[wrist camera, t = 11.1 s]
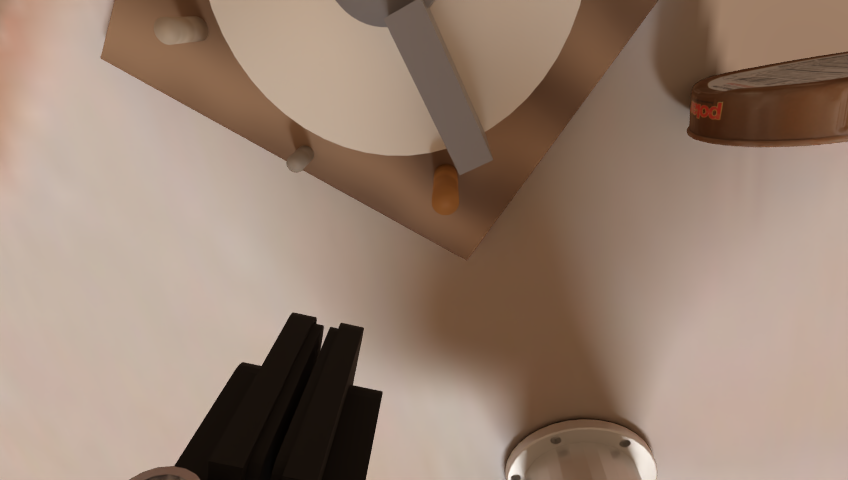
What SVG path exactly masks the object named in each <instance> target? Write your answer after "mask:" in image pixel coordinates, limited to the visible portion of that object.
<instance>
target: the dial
mask: <svg viewBox="0 0 848 480" xmlns="http://www.w3.org/2000/svg"><path fill="white" fill-rule="evenodd" d="M209 1H210V4H211V8H212V11H213V13H214V15H215V18H216V20H217V22H218V25H219V27H220V29H221V32H222V34H223V36H224V38H225V40H226V42H227V43H228V45H229V47H230V49H231V51H232V52H233V54H234V56H235V58H236V59H237V61H238V62H239V64H240V65H241V66H242V68H243V69H244V71H245V72H246V73H247V75H248V76H249V78H250V79H251V80H252V81H253V83H254V84H255V85H256V86H257V87H258V88H259V89H260V91H261V92H262V93H263V94H264V95H265V96H266V97H267V98H268V99H269V100H270V101H271V102H272V103H273V104H274V105H275V106H276V107H278V108H279V109H280V110H281V111H282V112H283V113H284V114H285V115H287V116H288V117H290V118H291V119H292V120H294V121H295V122H297V123H298V124H299V125H301V126H302V127H304V128H305V129H307V130H309V131H311V132H312V133H314V134H316V135H318V136H320V137H322V138H323V139H326V140H328V141H331V142H333V143H336V144H338V145H341V146H343V147H346V148H350V149H354V150H357V151H361V152H365V153H372V154H379V155H387V156H410V155H418V154H426V153H432V152H436V151H439V150H443V149H447V150H448V152H449V155H450V157H451V159H452V161H453V163H454V165H455V167H456V169H457V171H458V173H459V175H462V174H464V173H466V172H468V171H470V170H473V169H475V168H477V167H479V166H481V165H483V164H486V163H488V162H490V161H492V160H493V158H492V154H491V151H490V148H489V144H488V141H487V138H486V134H485V131H487V130H489V129H491V128H492V127H494V126H495V125H496V124H498V123H499V122H500V121H502V120H503V119H504V118H506V117H507V116H509V115H510V114H511V113H512V112H513V111H514V110H515V109H516V108H517V107H518V106H519V105H521V104H522V103H523V102H524V101H525V100H526V99H527V98H528V97H529V96H530V94H531V93H532V92H533V91H534V90H535V88H536V87H537V86H538V85H539V84H540V82H541V81H542V80H543V79H544V77H545V76H546V74H547V73H548V71H549V70H550V68H551V67H552V65H553V64H554V62H555V60H556V59H557V57H558V56H559V54H560V52H561V50H562V48H563V46H564V44H565V42H566V40H567V38H568V36H569V34H570V31H571V29H572V26H573V23H574V20H575V18H576V15H577V12H578V9H579V7H580V3H581V0H209Z"/></svg>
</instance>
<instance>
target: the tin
mask: <svg viewBox="0 0 848 480" xmlns="http://www.w3.org/2000/svg"><path fill="white" fill-rule="evenodd" d="M687 134H688V135H689V136H690V137H692V138H693V139H696V140H699V141H702V142H707V143H712V144H720V145H730V146H743V147H790V146H810V145H821V144H831V143H839V142H847V141H848V52H843V53H836V54H830V55H824V56H816V57H811V58H805V59H799V60H793V61H787V62H781V63H776V64H770V65H765V66H759V67H754V68H748V69H743V70H738V71H733V72H728V73H724V74H720V75H716V76H712V77H709V78H706V79H703V80H701V81H699V82H698V83H696V84H695V85H694V86H693V88H692V93H691V102H690V124H689V127H688V128H687Z"/></svg>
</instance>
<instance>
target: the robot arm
mask: <svg viewBox="0 0 848 480" xmlns="http://www.w3.org/2000/svg"><path fill="white" fill-rule="evenodd" d="M316 321H317V320H316V317H312V316H307V315H303V314H298V313H292V314H291V315H290V317H289V318H288V320H287V322H286V324H285V326H284V327H283V329H282V331H281V333H280V334H279V336H278V338H277V340H276V342H275V343H274V345H273V347H272V349H271V350H270V352H269V354H268V356H267V357H266V359H265V361H264V363H263V365H262V366H258V365H254V364H249V363H244V362H242V363H241V364H239V366H238V367H237V368H236V370H235V371H234V373H233V374H232V376H231V378H230V379H229V381H228V382H227V384H226V385H225V387H224V389H223V390H222V392H221V393H220V395H219V396H218V398H217V400H216V401H215V403H214V404H213V406H212V408H211V409H210V411H209V412H208V414H207V415H206V417H205V419H204V420H203V422H202V423H201V425H200V426H199V428H198V430H197V431H196V433H195V434H194V436H193V437H192V439H191V441H190V442H189V444H188V445H187V447H186V448H185V450H184V452H183V453H182V455H181V456H180V458H179V460H178V461H177V463H176V464H175V466H170V467H158V468H155V469H151V470H148V471H145V472H142V473H140V474H139V475H137V476H135V477H133V478H131V479H130V480H366V475H367V470H368V465H369V460H370V455H371V449H372V444H373V439H374V434H375V429H376V424H377V419H378V414H379V408H380V403H381V398H382V391H377V390H372V389H368V388H363V387H358V386H353V381H354V376H355V371H356V366H357V361H358V356H359V351H360V346H361V341H362V336H363V330H364V328H363V327H358V326H354V325H349V324H344V323H341V324H340V326H339V328H338V329H337V328H333V327H330V329H329V331H328V333H327V336H326V338H325V341H324V343H323V346H322V348H321V343H322V337H323V330H324V326H323V325H319V324H316ZM320 350H321V351H320ZM505 474H506V480H657V466H656V462H655V459H654V457H653V455H652V452H651V450H650V449H649V447H648V446H647V444H646V443H645V441H644V440H643V439H642V438H640V437H639V436H638V435H637V434H636V433H634V432H632V431H631V430H629V429H627V428H625V427H623V426H620V425H617V424H614V423H611V422H606V421H601V420H588V419H580V420H569V421H564V422H560V423H555V424H552V425H549V426H547V427H544V428H541V429H539V430H538V431H536V432H534V433H532V434H530V435H529V436H527V437H526V438H525V439H524V440H522V441H521V442H520V443H519V444H518V445H517V446H516V447H515V449H514V450H513V451H512V452H511V454H510V456H509V458H508V460H507V464H506V469H505Z"/></svg>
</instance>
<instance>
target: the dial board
mask: <svg viewBox="0 0 848 480" xmlns="http://www.w3.org/2000/svg"><path fill="white" fill-rule="evenodd" d="M657 1H658V0H581V3H580V7H579V9H578V12H577V15H576V18H575V20H574V23H573V26H572V29H571V31H570V34H569V36H568V38H567V40H566V42H565V44H564V46H563V48H562V50H561V52H560V54H559V56H558V57H557V59H556V60H555V62H554V64H553V65H552V67H551V68H550V70H549V71H548V73H547V74H546V76H545V77H544V79H543V80H542V81H541V82H540V84H539V85H538V86H537V87H536V88H535V90H534V91H533V92H532V93H531V94H530V96H529V97H528V98H527V99H526V100H525V101H524V102H523V103H522V104H521V105H519V106H518V107H517V108H516V109H515V110H514V111H513V112H512V113H511V114H510V115H509V116H507V117H506V118H504V119H503V120H502V121H500V122H499V123H498V124H496V125H495V126H494V127H492V128H491V129H489V130H487V131H485V134H486V138H487V141H488V144H489V148H490V151H491V154H492V158H493V160H492V161H490V162H488V163H486V164H483V165H481V166H479V167H477V168H475V169H473V170H470V171H468V172H466V173H464V174H462V175H459V173H458V171H457V169H456V167H455V165H454V163H453V161H452V159H451V157H450V155H449V152H448V150H447V149H443V150H439V151H436V152H432V153H426V154H418V155H410V156H387V155H379V154H372V153H365V152H361V151H357V150H354V149H350V148H346V147H343V146H341V145H338V144H336V143H333V142H331V141H328V140H326V139H323V138H322V137H320V136H318V135H316V134H314V133H312V132H311V131H309V130H307V129H305V128H304V127H302V126H301V125H299V124H298V123H297V122H295V121H294V120H292V119H291V118H290V117H288V116H287V115H285V114H284V113H283V112H282V111H281V110H280V109H279V108H278V107H276V106H275V105H274V104H273V103H272V102H271V101H270V100H269V99H268V98H267V97H266V96H265V95H264V94H263V93H262V92H261V91H260V89H259V88H258V87H257V86H256V85H255V84H254V83H253V81H252V80H251V79H250V78H249V76H248V75H247V73H246V72H245V71H244V69H243V68H242V66H241V65H240V64H239V62H238V61H237V59H236V58H235V56H234V54H233V52H232V51H231V49H230V47H229V45H228V43H227V42H226V40H225V38H224V36H223V34H222V32H221V29H220V27H219V25H218V22H217V20H216V18H215V15H214V13H213V11H212V8H211V4H210V1H209V0H115V2H114V6H113V10H112V14H111V18H110V22H109V26H108V30H107V34H106V38H105V42H104V47H103V51H102V55H101V59H103V60H105V61H106V62H108V63H110V64H112V65H114V66H115V67H117V68H119V69H121V70H123V71H125V72H126V73H128V74H130V75H132V76H134V77H135V78H137V79H139V80H141V81H143V82H144V83H146V84H148V85H150V86H152V87H153V88H155V89H157V90H159V91H161V92H163V93H164V94H166V95H168V96H170V97H172V98H173V99H175V100H177V101H179V102H181V103H182V104H184V105H186V106H188V107H190V108H191V109H193V110H195V111H197V112H199V113H201V114H202V115H204V116H206V117H208V118H210V119H211V120H213V121H215V122H217V123H219V124H220V125H222V126H224V127H226V128H228V129H229V130H231V131H233V132H235V133H237V134H239V135H240V136H242V137H244V138H246V139H248V140H249V141H251V142H253V143H255V144H257V145H258V146H260V147H262V148H264V149H266V150H267V151H269V152H271V153H273V154H275V155H277V156H278V157H280V158H282V159H284V160H286V161H287V162H286V163H287V167H288V168H289V169H290V170H291V171H292V172H296V173H298V172H301V171H302V170H304V171H305V172H307V173H309V174H311V175H313V176H315V177H316V178H318V179H320V180H322V181H324V182H325V183H327V184H329V185H331V186H333V187H334V188H336V189H338V190H340V191H342V192H343V193H345V194H347V195H349V196H351V197H353V198H354V199H356V200H358V201H360V202H362V203H363V204H365V205H367V206H369V207H371V208H372V209H374V210H376V211H378V212H380V213H381V214H383V215H385V216H387V217H389V218H391V219H392V220H394V221H396V222H398V223H400V224H401V225H403V226H405V227H407V228H409V229H410V230H412V231H414V232H416V233H418V234H419V235H421V236H423V237H425V238H427V239H429V240H430V241H432V242H434V243H436V244H438V245H439V246H441V247H443V248H445V249H447V250H448V251H450V252H452V253H454V254H456V255H457V256H459V257H461V258H463V259H465V260H468V258H469V257H470V255H471V254H472V253H473V251H474V250H475V249H476V247H477V246H478V245H479V243H480V242H481V241H482V239H483V238H484V236H485V235H486V234H487V232H488V231H489V230H490V228H491V227H492V226H493V224H494V223H495V221H496V220H497V219H498V217H499V216H500V215H501V213H502V212H503V211H504V209H505V208H506V207H507V205H508V204H509V202H510V201H511V200H512V198H513V197H514V196H515V194H516V193H517V192H518V190H519V189H520V187H521V186H522V185H523V183H524V182H525V181H526V179H527V178H528V177H529V175H530V174H531V173H532V171H533V170H534V168H535V167H536V166H537V164H538V163H539V162H540V160H541V159H542V158H543V156H544V155H545V153H546V152H547V151H548V149H549V148H550V147H551V145H552V144H553V143H554V141H555V140H556V139H557V137H558V136H559V134H560V133H561V132H562V130H563V129H564V128H565V126H566V125H567V124H568V122H569V121H570V119H571V118H572V117H573V115H574V114H575V113H576V111H577V110H578V109H579V107H580V106H581V105H582V103H583V102H584V100H585V99H586V98H587V96H588V95H589V94H590V92H591V91H592V90H593V88H594V87H595V86H596V84H597V83H598V81H599V80H600V79H601V77H602V76H603V75H604V73H605V72H606V71H607V69H608V68H609V66H610V65H611V64H612V62H613V61H614V60H615V58H616V57H617V56H618V54H619V53H620V52H621V50H622V49H623V47H624V46H625V45H626V43H627V42H628V41H629V39H630V38H631V37H632V35H633V34H634V32H635V31H636V30H637V28H638V27H639V26H640V24H641V23H642V22H643V20H644V19H645V18H646V16H647V15H648V13H649V12H650V11H651V9H652V8H653V7H654V5H655V4H656V3H657Z"/></svg>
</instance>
